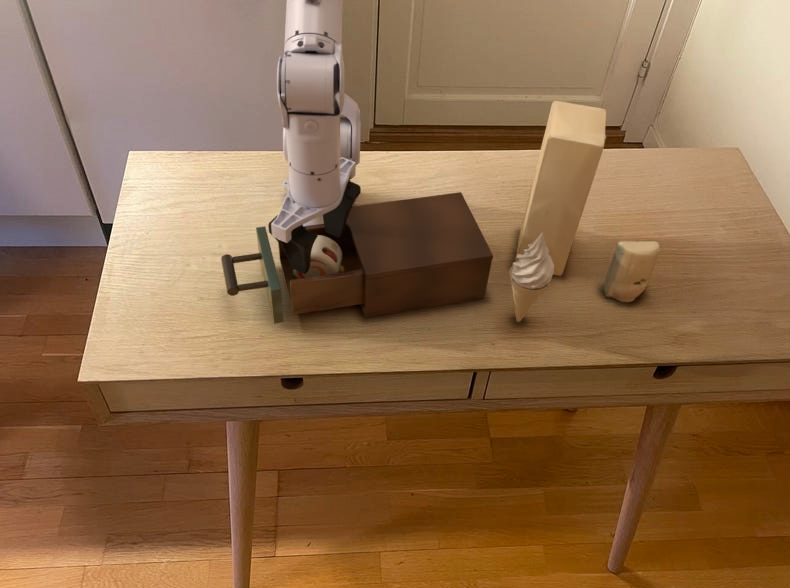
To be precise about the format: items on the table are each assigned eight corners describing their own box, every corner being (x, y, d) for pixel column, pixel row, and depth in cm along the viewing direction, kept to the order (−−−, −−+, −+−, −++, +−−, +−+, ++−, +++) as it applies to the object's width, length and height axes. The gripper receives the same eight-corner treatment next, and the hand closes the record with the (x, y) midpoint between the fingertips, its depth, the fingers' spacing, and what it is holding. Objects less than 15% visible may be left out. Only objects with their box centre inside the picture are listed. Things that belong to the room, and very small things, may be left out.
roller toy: (298, 261, 98) (296, 227, 94) (346, 268, 98) (346, 234, 93) (291, 285, 95) (288, 251, 91) (340, 292, 95) (340, 258, 91)
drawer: (233, 330, 91) (228, 297, 87) (222, 266, 98) (216, 232, 94) (392, 305, 96) (394, 272, 91) (370, 245, 102) (371, 212, 98)
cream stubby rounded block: (621, 271, 104) (638, 226, 97) (652, 292, 101) (672, 247, 95) (595, 289, 101) (611, 244, 95) (626, 311, 99) (645, 267, 92)
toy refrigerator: (567, 278, 102) (610, 146, 86) (514, 268, 103) (546, 135, 86) (571, 240, 107) (612, 108, 91) (520, 231, 108) (551, 98, 91)
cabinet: (365, 317, 95) (366, 274, 89) (342, 251, 103) (343, 207, 97) (484, 298, 99) (493, 255, 93) (454, 235, 106) (461, 191, 100)
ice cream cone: (507, 338, 94) (530, 249, 83) (493, 309, 97) (513, 219, 86) (544, 331, 95) (571, 242, 84) (529, 303, 99) (553, 213, 87)
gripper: (319, 116, 88) (322, 207, 98) (244, 181, 79) (255, 273, 90) (371, 136, 86) (368, 227, 96) (299, 204, 78) (305, 296, 88)
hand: (317, 251), depth 93 cm, fingers open, 7 cm apart
